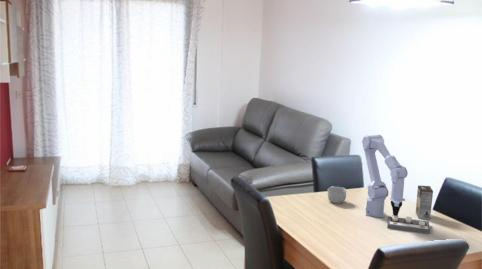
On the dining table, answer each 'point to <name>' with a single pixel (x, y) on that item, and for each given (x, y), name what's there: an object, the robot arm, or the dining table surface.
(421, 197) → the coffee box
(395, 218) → the left button
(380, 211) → the robot arm
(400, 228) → the button board
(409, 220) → the middle button
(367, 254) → the dining table surface
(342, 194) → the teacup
